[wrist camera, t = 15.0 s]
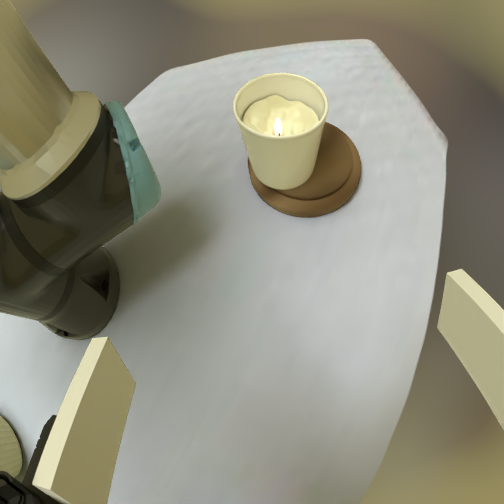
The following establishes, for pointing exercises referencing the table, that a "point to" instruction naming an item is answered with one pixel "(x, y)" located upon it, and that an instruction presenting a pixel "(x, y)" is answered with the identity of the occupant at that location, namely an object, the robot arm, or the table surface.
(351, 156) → the walnut pedestal
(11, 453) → the canister
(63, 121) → the robot arm
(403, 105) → the table surface
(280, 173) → the candle holder
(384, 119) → the table surface
